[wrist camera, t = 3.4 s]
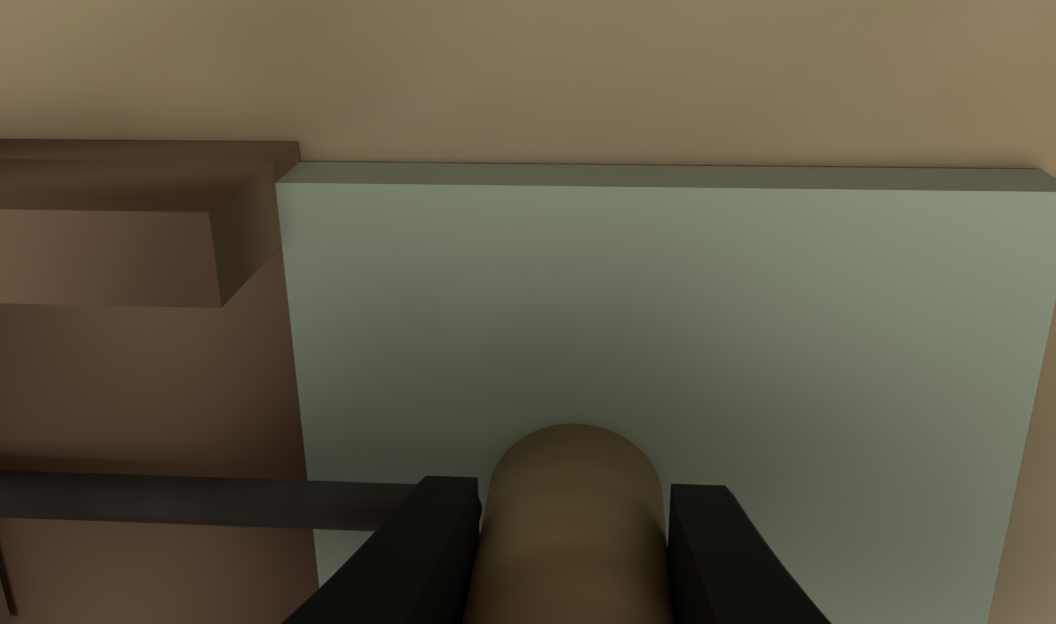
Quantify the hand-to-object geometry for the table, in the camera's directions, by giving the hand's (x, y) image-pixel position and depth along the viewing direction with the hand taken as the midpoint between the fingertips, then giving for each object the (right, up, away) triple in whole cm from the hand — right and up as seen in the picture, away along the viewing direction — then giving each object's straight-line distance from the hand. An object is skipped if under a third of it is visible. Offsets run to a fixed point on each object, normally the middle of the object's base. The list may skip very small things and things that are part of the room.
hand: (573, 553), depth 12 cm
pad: (+1, +1, +2) cm, 3 cm away
